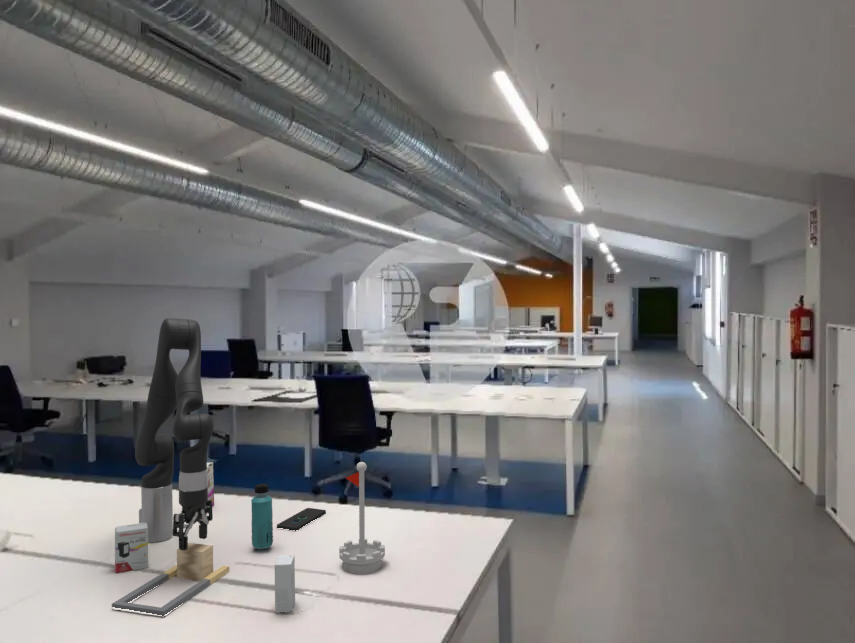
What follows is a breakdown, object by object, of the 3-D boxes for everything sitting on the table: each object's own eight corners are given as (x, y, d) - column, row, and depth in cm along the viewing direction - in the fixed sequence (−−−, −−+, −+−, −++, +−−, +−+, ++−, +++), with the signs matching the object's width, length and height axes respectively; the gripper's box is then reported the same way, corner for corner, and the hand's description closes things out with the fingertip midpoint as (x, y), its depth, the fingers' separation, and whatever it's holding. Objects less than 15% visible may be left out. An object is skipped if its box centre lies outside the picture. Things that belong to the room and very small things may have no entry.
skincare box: (278, 601, 160) (277, 554, 159) (295, 601, 160) (295, 554, 160) (274, 613, 154) (274, 564, 153) (292, 612, 154) (291, 564, 154)
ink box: (115, 573, 177) (114, 532, 177) (114, 567, 181) (114, 526, 181) (148, 567, 181) (148, 527, 181) (147, 561, 185) (147, 521, 185)
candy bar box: (201, 505, 238) (200, 462, 238) (214, 505, 238) (214, 462, 238) (189, 515, 227) (189, 469, 226) (203, 515, 227) (203, 469, 226)
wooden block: (177, 578, 174) (176, 549, 174) (188, 570, 179) (188, 542, 179) (202, 581, 172) (201, 552, 172) (213, 573, 177) (212, 545, 177)
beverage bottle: (267, 554, 190) (267, 488, 190) (247, 552, 192) (246, 487, 191) (277, 546, 197) (276, 482, 196) (257, 544, 198) (256, 481, 198)
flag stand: (391, 559, 186) (391, 458, 186) (373, 577, 174) (373, 469, 173) (351, 554, 191) (351, 455, 190) (331, 571, 178) (330, 465, 178)
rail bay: (111, 609, 156) (111, 603, 156) (183, 565, 182) (183, 560, 182) (163, 617, 152) (163, 611, 152) (229, 571, 178) (229, 566, 178)
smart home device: (275, 524, 213) (307, 507, 232) (275, 529, 213) (307, 511, 232) (296, 527, 210) (327, 509, 229) (296, 532, 210) (327, 514, 229)
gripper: (197, 477, 182) (197, 533, 183) (164, 492, 169) (164, 552, 169) (220, 480, 180) (220, 536, 181) (188, 494, 167) (188, 555, 167)
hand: (193, 543), depth 175 cm, fingers open, 8 cm apart
